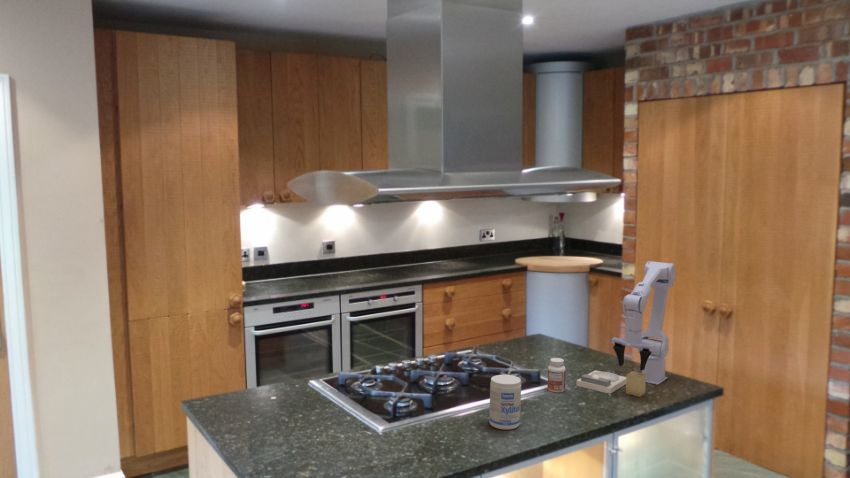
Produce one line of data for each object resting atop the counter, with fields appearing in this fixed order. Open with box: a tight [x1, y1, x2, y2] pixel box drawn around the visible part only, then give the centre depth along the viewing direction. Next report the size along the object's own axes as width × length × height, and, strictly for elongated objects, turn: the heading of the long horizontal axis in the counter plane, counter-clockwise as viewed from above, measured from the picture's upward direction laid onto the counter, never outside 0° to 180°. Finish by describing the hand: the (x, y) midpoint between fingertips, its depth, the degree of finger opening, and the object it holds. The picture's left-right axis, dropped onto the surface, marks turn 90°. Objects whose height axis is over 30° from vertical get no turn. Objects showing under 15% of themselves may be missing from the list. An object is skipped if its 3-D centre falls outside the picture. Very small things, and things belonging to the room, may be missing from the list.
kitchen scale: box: [576, 369, 626, 395], centre depth 255 cm, size 15×13×5 cm
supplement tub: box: [488, 374, 522, 431], centre depth 218 cm, size 10×10×15 cm
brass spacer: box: [625, 370, 647, 398], centre depth 246 cm, size 5×5×7 cm
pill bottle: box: [547, 357, 567, 393], centre depth 249 cm, size 6×6×11 cm
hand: (631, 367), depth 243 cm, fingers open, 7 cm apart
